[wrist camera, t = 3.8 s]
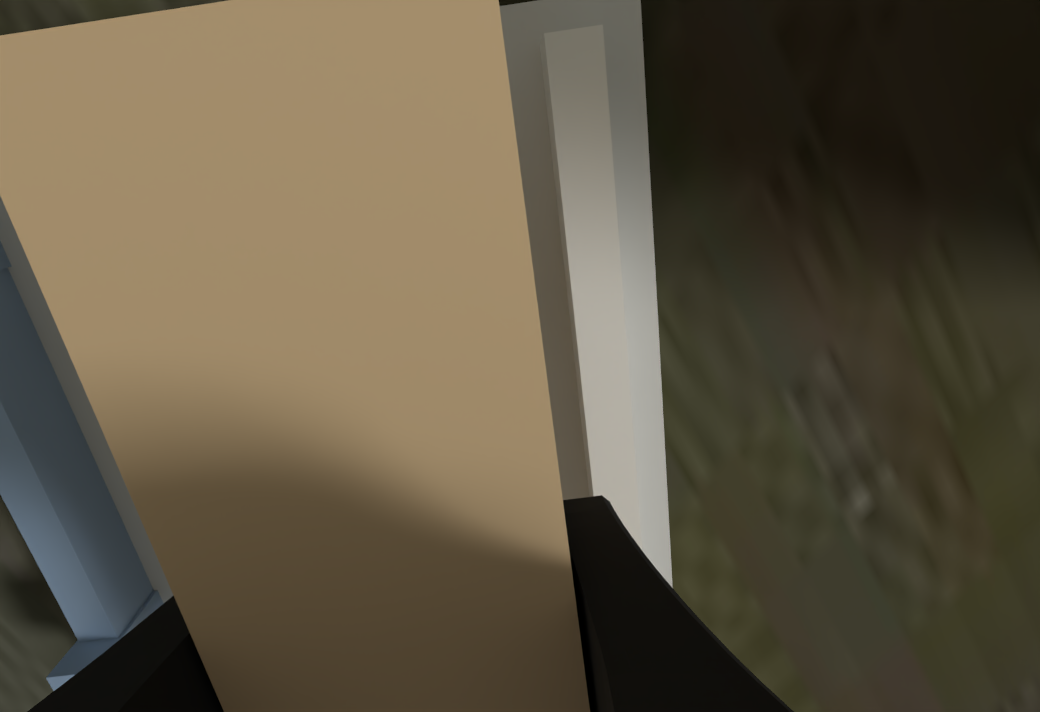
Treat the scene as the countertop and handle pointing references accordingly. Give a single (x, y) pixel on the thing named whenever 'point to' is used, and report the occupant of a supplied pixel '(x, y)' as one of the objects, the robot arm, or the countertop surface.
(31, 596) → the countertop surface
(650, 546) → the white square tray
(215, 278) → the tan bar
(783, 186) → the countertop surface
